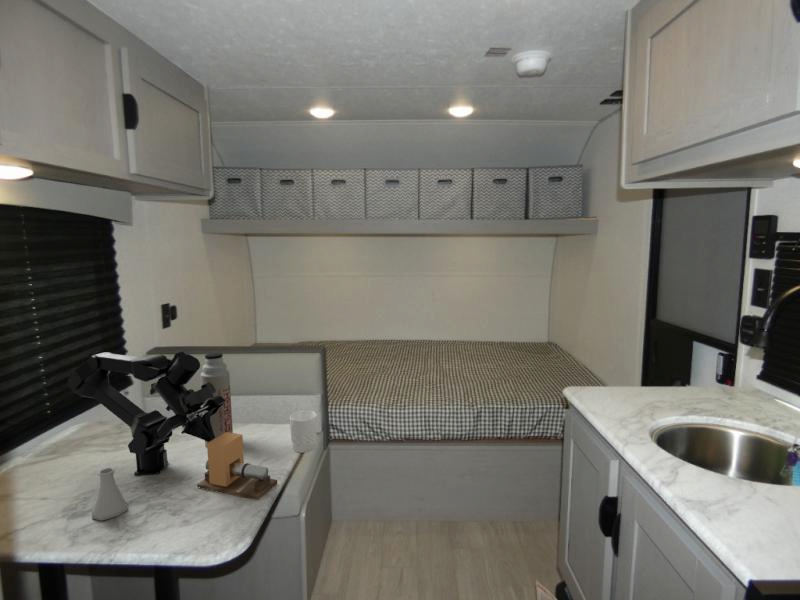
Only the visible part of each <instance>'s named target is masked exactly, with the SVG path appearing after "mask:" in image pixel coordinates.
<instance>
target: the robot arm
mask: <svg viewBox="0 0 800 600" xmlns="http://www.w3.org/2000/svg"><path fill="white" fill-rule="evenodd" d="M199 369H201V363H200V360H199V359H198V357H195V356H193V355H191V354H188V353H185V352H184V351H183V350H181V351H178V352H176V353H175V354H174V356H173V358H172V359H170V358H167V356H166V355H164V354H155V355H154V354H153V355H152V354H151V355H148V356H140V357H139V356H134V355H133V356H132V355H126V354H125V355H124V354H117V353H112V352H110V351H109V352H107V351H106V352H104V351H103V352H101V353H98V354H97V353H96V354H93V355H91V356H90V357H89V358H88V359H87V360H86V361H85V362H84V363H83V364H81V365H80V366H78V367H77V368H76V369H75V370H74V371H73V372H72V373H70V375H69V378H68V380H67V386H68V387H69V389H70V390H71V391H72V392H74V393H75V394H77V395H79V396H81V397H84V398H90V399H94V400H96V401H97V402H98V403H99V404H100V405H102V406H103V407H104V408H106V410H108V411H109V412H111V413H112V414H113V415H114V416H116V417H117V418H118V419H119V420H120V421H122V422H124V424H126V425H127V426H128V427H129V428H130V431H131V437H132V439H131V441H130V442H129V443H128V444H127V448H128V451H129V453H130V454H134V455H135V461H136V464H135V465H136V470H135V471H134V472H133V475H135V476H137V475H138V476H139V475H156V474H155V473H158V474H160V473H161V472H162V471H163V470H164V469H163V468H166V466H167V465H168V464H169V460H168V453H167V449H165V444H167V443H169V442H170V440H171V439H170V438H171V437H172V436H173V431H174V430H175V429H178V428H180V427H182V429H183V430H182V431H181V432H180V433H181V434H182V435H184V434H187V435H190V436H192V437H195V438H197V439H200V440H202V441H204V442H205V441H207V442H210V441H212V440H213V439H215V435H214V432H213V429H212V426H211V422H210V417H211V416H212V415H214V414H215V413H217V411H218V410H219V409H220V408H221V407H222V406H223V405H224V403H225V402H226V401H225V400H224V399H223V397H222V396H216V397H214V395H213V393H215V392H216V390H215V387H214V386H213V385H212V384H211V383H210V382H208V383H206V384H204V385H202V386H201V385H200V389H198V390H196V391H194V389H192V388H191V389H188V388H186V386H185V385H186V384H188V383H189V382H190V380H191V379H192V378H193V377H194V376H195V375H196V373H197V372H198V371H199ZM111 372H116V373H117V372H119V373H122V374H123V373H124V374H130V375H132V376H133V378H134V379H137V380H139V381H141V382H145V383H146V382H147V383H148V382H151V381H153V380H156V379H158V380H157V381H156V382H153V383H151V384H150V386H151V387H150V390H149V395H151V396H152V395H155V394H158V395H159V396H160V397H161V399H162V400H163V401H164V402H165V403H166V405H167V406H166V407H165V410H166V411H167V412H170V411H172V412H173V413H174V415H173V416H170V417H169V418H168V417H167V416H165V415H163V414H162V413H161V412H160V411H159V410H156V409H155V410H152V411H150V412H145V411H144V410H143V409H142V408H140V406H138V405H136V404H135V403H134V402H133V401H131V400H130V399H129V398H127V396H125V395H123V394H122V393H121V392H120V391H119V390H118V389H116V388H115V387H114V386H112V385H111V384H110V380H109V379H110V378H109V375H110V373H111ZM213 397H214V398H213ZM209 398H212V399H209ZM207 399H209V400H208V401H207V403H206V404H205V405H204V406H203V404H204V403H205V401H206V400H207ZM167 463H168V464H167Z"/></svg>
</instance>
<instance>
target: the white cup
mask: <svg viewBox="0 0 800 600" xmlns="http://www.w3.org/2000/svg"><path fill="white" fill-rule="evenodd" d="M317 417H318V414H317V413H316V412H315V411H311V410H300V411H296V412H294V413H291V414H290V415H289V428H290V437H291V438H290V439H291V446H292V451H294V452H296V453H302V454H303V453H309V452H312V451H314V450H315V449H316V446H317V429H318V428H317V423H318V422H317V421H318V419H317Z"/></svg>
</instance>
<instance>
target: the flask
mask: <svg viewBox="0 0 800 600" xmlns="http://www.w3.org/2000/svg"><path fill="white" fill-rule="evenodd" d="M114 473H115V467H112V466H109V467H105V468H102V469H100V470H98V476H99V479H100V483H99V489H98V491H97V492H98V493H97V495H96V500H95V502H94V506H93V508H92V511H91V519H93V520H97V521H100V522H101V521H105V520H108V519H112V518H116V517H118V516H119V515H120V516H121V514H123V513H125V512H127V511H128V510H129V509H128V508H129V507H128V503H127V501H126V499H125V498H124V496H123V494H122V492H121V491H120V489H119V487H118V485H117V484H116V483H117V482H116V480H115V477H114Z"/></svg>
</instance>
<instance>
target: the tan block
mask: <svg viewBox="0 0 800 600" xmlns="http://www.w3.org/2000/svg"><path fill="white" fill-rule="evenodd" d="M243 439H244V438H243V434H241V433H236V432H233V433H229V432H226V433H224V434H222V435H220V436H219V437H217V438H215V439H213V440H212V441H210V442H208V443H207V448H206V449H207V460H208V466H209V470H208V471H209V481H210V484H215V485H220V486H225V487H227V486H228V485H229V484H231V483H232V482H233V481H235V480H236V479H237V478H239V477H240V476H237V475H232V474H230V469H229V464H231V463H232V462H238V463H244V464H245V460H244V458H245V457H244V456H245V455H244V442H243Z"/></svg>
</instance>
